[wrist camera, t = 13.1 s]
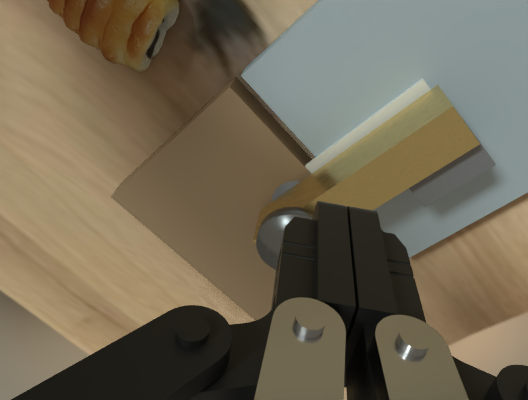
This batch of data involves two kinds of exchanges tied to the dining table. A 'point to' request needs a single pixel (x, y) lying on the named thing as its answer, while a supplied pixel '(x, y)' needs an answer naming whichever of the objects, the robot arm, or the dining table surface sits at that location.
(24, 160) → the dining table surface
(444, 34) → the door mock-up
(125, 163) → the dining table surface
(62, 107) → the dining table surface
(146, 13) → the pastry
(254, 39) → the dining table surface
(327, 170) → the swing bar
